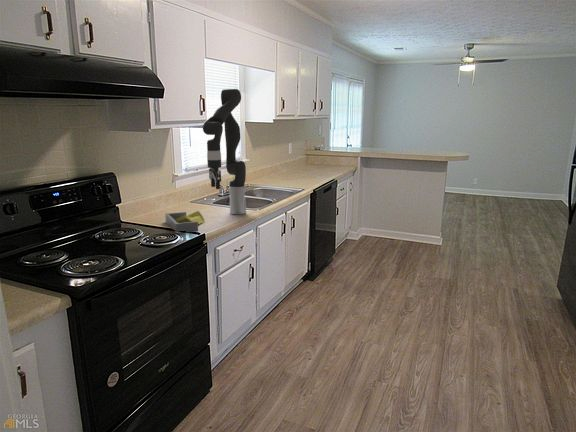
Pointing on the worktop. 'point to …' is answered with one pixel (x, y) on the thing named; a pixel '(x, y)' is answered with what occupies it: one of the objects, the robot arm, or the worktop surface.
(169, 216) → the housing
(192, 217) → the plastic component
